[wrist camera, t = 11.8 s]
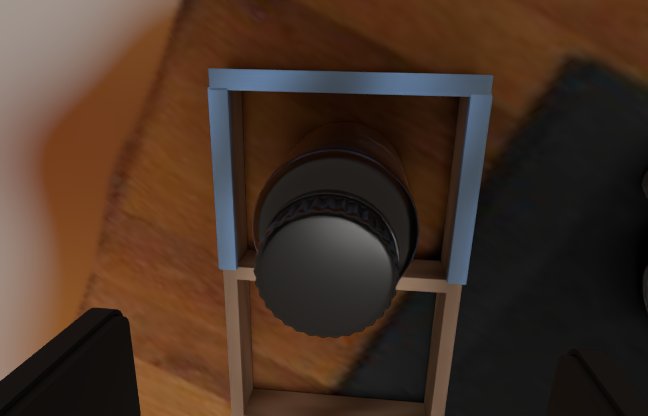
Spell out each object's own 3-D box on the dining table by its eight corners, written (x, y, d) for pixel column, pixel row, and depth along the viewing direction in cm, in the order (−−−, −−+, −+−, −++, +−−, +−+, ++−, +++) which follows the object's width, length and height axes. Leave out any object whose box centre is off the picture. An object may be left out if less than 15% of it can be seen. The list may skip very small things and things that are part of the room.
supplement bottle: (271, 140, 25) (188, 205, 13) (386, 104, 23) (402, 141, 12) (308, 245, 27) (264, 380, 15) (416, 217, 25) (456, 341, 14)
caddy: (480, 74, 22) (495, 75, 20) (435, 413, 30) (442, 448, 27) (224, 68, 24) (206, 68, 21) (241, 396, 31) (229, 428, 28)
